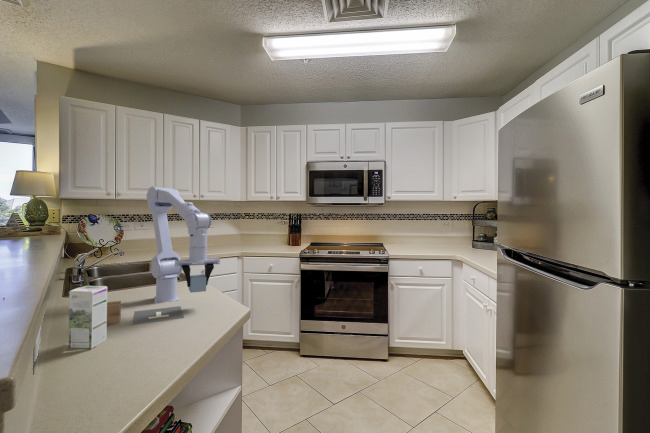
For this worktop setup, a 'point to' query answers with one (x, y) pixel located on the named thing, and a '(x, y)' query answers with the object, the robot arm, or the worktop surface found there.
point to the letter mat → (157, 315)
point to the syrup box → (87, 316)
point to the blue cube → (197, 283)
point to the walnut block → (113, 312)
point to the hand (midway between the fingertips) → (197, 285)
